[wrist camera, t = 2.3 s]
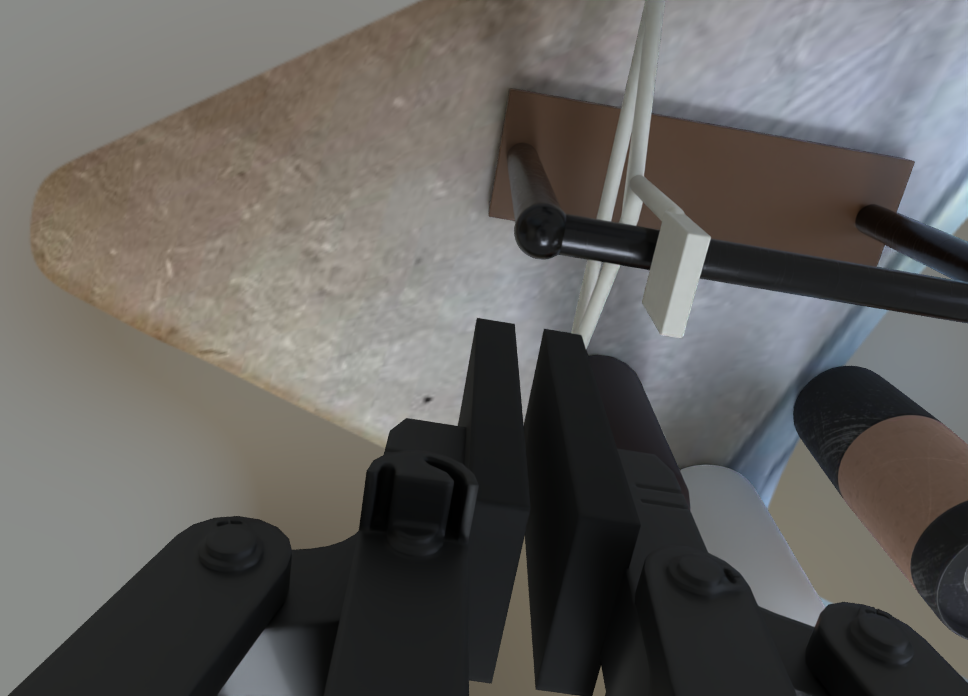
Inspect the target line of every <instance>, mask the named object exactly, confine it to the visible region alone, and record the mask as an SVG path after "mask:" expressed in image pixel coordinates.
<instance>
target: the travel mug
mask: <svg viewBox="0 0 968 696" xmlns="http://www.w3.org/2000/svg"><path fill="white" fill-rule="evenodd" d="M794 424H795V428H796V431H797V433H798V434H799V436H800V438H801V439H802V441H803V442H804V444H805V445H806V447H807V448H808V450H809V451H810V452H811V454H812V455H813V457H814V458H815V460H816V461H817V462H818V463H819V465H820V467H821V468H822V469H823V471H824V472H825V474H826V475H827V476H828V478H829V479H830V481H831V482H832V484H833V485H834V486H835V488H836V489H837V490H838V492H839V493H840V495H841V496H842V498H843V499H844V500H845V502H846V503H847V504H848V506H849V507H850V508H851V509H852V511H853V512H854V513H855V514H856V516H857V517H858V518H859V519H860V521H861V522H862V523H863V524H864V526H865V527H866V528H867V529H868V531H869V532H870V533H871V534H872V536H873V537H874V538H875V539H876V541H877V542H878V543H879V544H880V546H881V547H882V548H883V549H884V551H885V552H886V553H887V554H888V556H889V557H890V558H891V559H892V561H893V562H894V563H895V564H896V566H897V567H898V568H899V569H900V570H901V572H902V573H903V574H904V575H905V577H906V578H907V579H908V580H909V582H910V583H911V584H912V586H913V587H914V588H915V589H916V590H917V592H918V593H919V594H920V595H921V597H922V598H923V599H924V600H925V602H926V603H927V604H928V605H929V606H930V608H931V609H932V610H933V611H934V613H935V614H936V615H937V617H938V618H939V619H940V620H941V621H942V623H943V624H944V625H946V626H947V627H948V628H949V629H950V630H951V631H952V632H954V633H955V634H957V635H959V636H961V637H963V638H965V639H967V640H968V444H966V443H965V442H964V441H963V440H962V439H961V438H960V437H958V436H957V435H956V434H955V433H953V432H952V431H951V430H950V429H949V428H948V427H946V426H945V425H944V424H943V423H941V422H940V421H939V420H938V419H936V418H935V417H934V416H932V415H931V414H930V413H928V412H927V411H926V410H924V409H923V408H922V407H920V406H919V405H918V404H917V403H915V402H914V401H912V400H911V399H910V398H909V397H907V396H906V395H905V394H903V393H902V392H901V391H899V390H898V389H897V388H895V387H894V386H893V385H891V384H890V383H889V382H888V381H886V380H885V379H883V378H882V377H881V376H879V375H878V374H876V373H874V372H873V371H871V370H868V369H866V368H862V367H857V366H842V367H837V368H833V369H830V370H827V371H825V372H823V373H821V374H819V375H818V376H816V377H815V378H814V379H812V380H811V381H810V382H809V383H808V384H807V385H806V386H805V387H804V389H803V390H802V391H801V393H800V395H799V396H798V398H797V401H796V404H795V407H794Z"/></svg>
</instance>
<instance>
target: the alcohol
mask: <svg viewBox="0 0 968 696" xmlns="http://www.w3.org/2000/svg"><path fill="white" fill-rule="evenodd" d="M680 472H681V474H682V476H683V479H684V481H685V483H686V485H687V488H688V490H689V497H690V507H691V509H690V511H691V513H692V516H693V518H694V520H695V523H696V525H697V527H698V530H699V532H700V534H701V537H702V539H703V541H704V544H705V546H706V548H707V551H708V553H710V554H712V555H714V556H716V557H718V558H720V559H722V560H724V561H726V562H727V563H728V564H729V565H731V566H732V567H733V568H734V569H736V570H737V571H738V572H739V573H741V575H742V576H743V578H744V579H745V581H746V582H747V583H748V585H749V586H750V588H751V590H752V593H753V595H754V597H755V600H756V602H757V604H758V606H760V607H762V608H765V609H767V610H769V611H772V612H774V613H777V614H779V615H782V616H785V617H788V618H791V619H794V620H796V621H799V622H802V623H805V624H808V625H810V626H813V627H815V625H816V622H817V620H818V617H819V615H820V613H821V612H822V611H823V610H824V609H825V606H824V604H823V603H822V601H821V599H820V598H819V596H818V594H817V592H816V591H815V589H814V587H813V586H812V584H811V582H810V581H809V579H808V577H807V576H806V574H805V572H804V571H803V569H802V567H801V565H800V564H799V562H798V561H797V559H796V557H795V555H794V554H793V552H792V550H791V549H790V547H789V545H788V544H787V542H786V540H785V538H784V537H783V535H782V533H781V532H780V530H779V528H778V527H777V525H776V523H775V522H774V520H773V518H772V517H771V515H770V513H769V511H768V510H767V508H766V506H765V505H764V503H763V501H762V500H761V498H760V496H759V495H758V493H757V491H756V490H755V488H754V487H753V485H752V484H751V483H750V482H749V480H748V479H746V478H745V477H744V476H743V475H741V474H740V473H738V472H736V471H734V470H732V469H730V468H726V467H723V466H717V465H695V466H691V467H687V468H684V469H681V470H680Z"/></svg>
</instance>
